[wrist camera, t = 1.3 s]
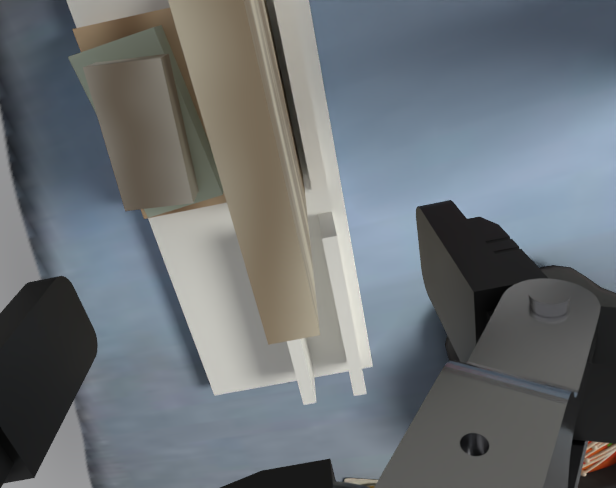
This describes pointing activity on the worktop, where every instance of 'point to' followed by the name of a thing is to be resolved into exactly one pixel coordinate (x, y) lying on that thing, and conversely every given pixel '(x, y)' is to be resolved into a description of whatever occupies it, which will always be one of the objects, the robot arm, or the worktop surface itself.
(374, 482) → the condiment
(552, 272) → the casserole
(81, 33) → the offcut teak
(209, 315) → the rack
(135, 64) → the offcut ash
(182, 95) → the offcut sage
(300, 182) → the birch sheet
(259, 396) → the worktop surface
